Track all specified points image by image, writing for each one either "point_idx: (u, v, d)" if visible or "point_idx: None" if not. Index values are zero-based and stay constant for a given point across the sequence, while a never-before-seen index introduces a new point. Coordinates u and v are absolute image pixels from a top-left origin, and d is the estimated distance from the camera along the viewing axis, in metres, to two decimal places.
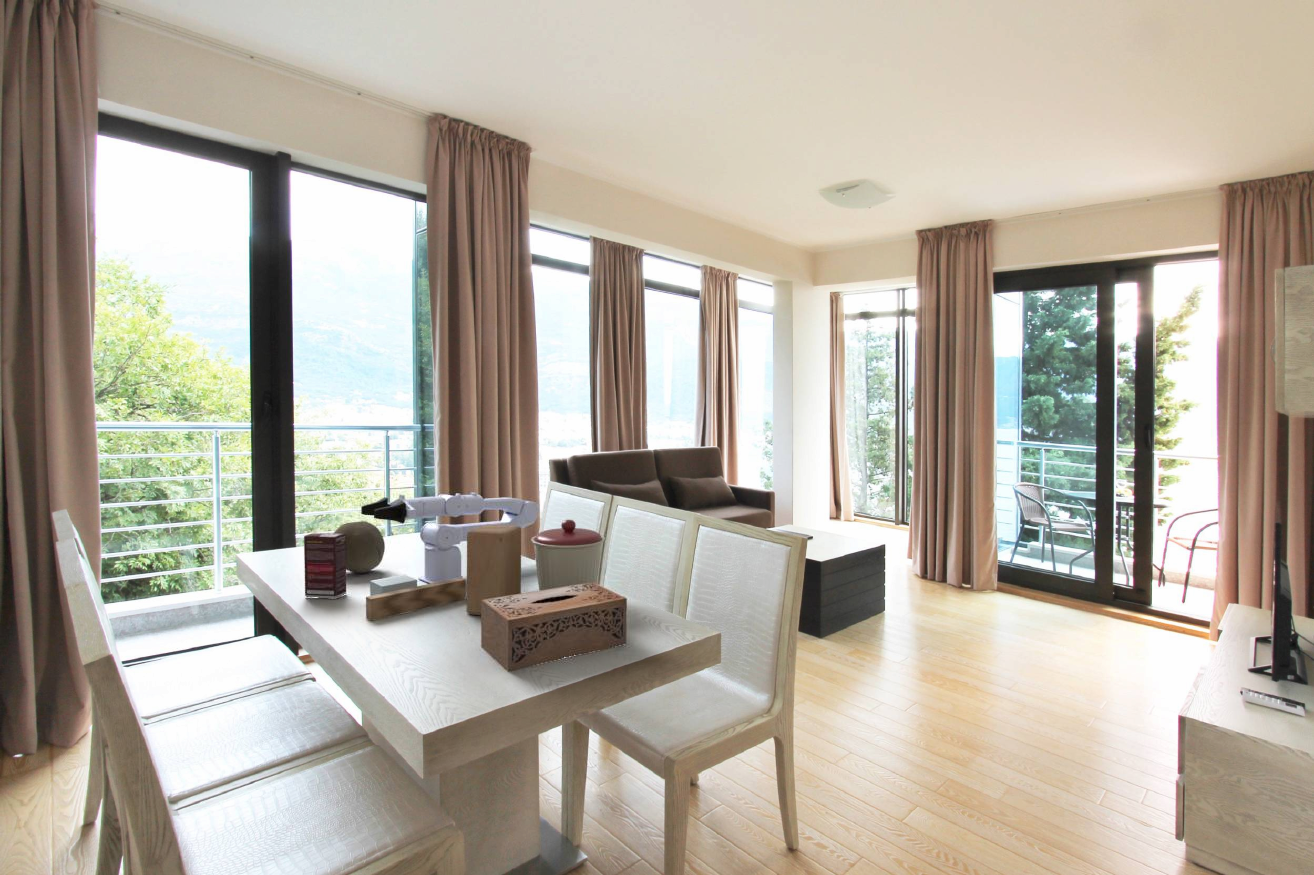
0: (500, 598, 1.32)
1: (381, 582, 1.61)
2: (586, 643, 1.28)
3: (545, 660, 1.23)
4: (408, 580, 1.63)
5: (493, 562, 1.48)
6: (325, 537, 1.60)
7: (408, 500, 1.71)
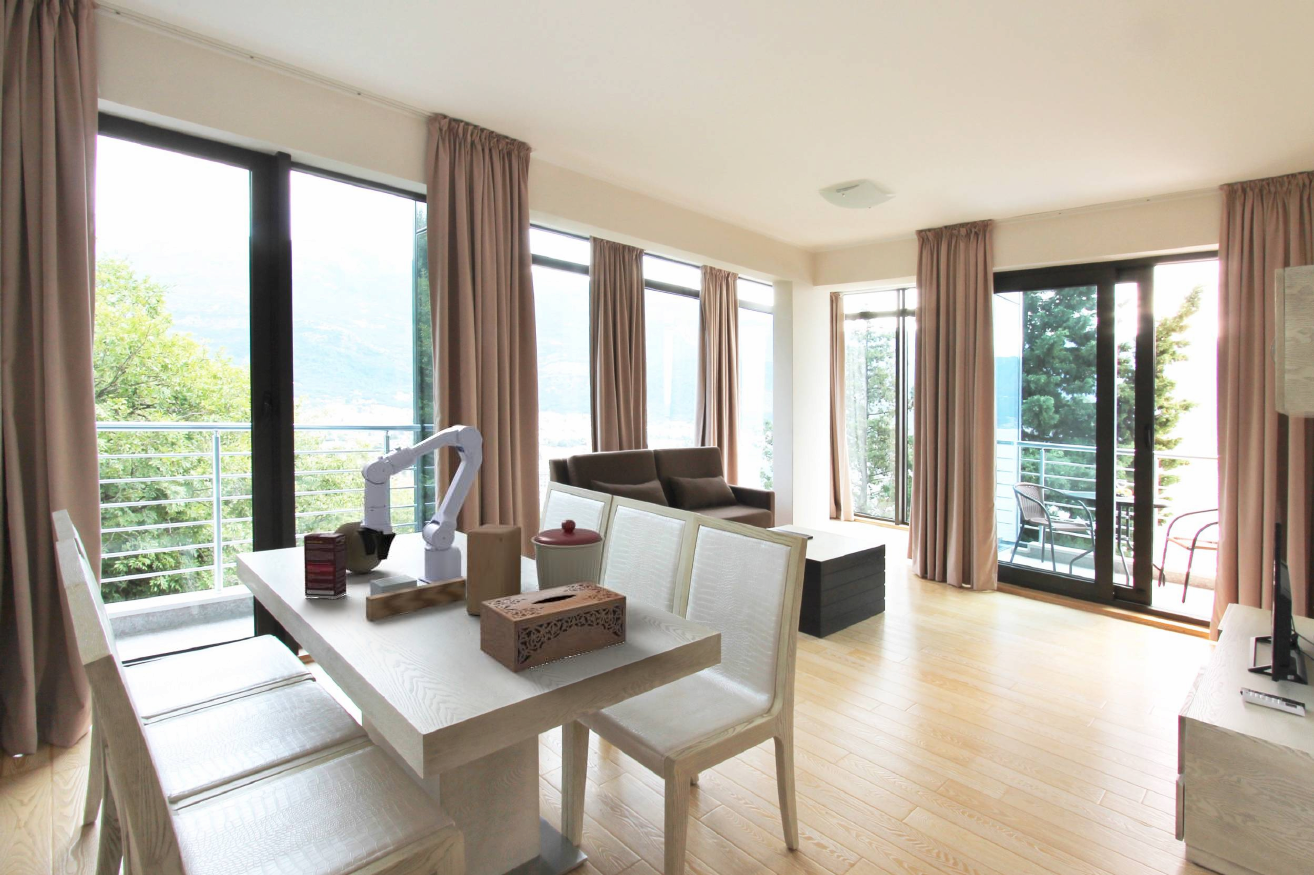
0: (499, 599, 1.31)
1: (381, 582, 1.61)
2: (588, 642, 1.29)
3: (549, 660, 1.23)
4: (408, 580, 1.63)
5: (493, 562, 1.48)
6: (325, 537, 1.60)
7: (368, 521, 1.67)
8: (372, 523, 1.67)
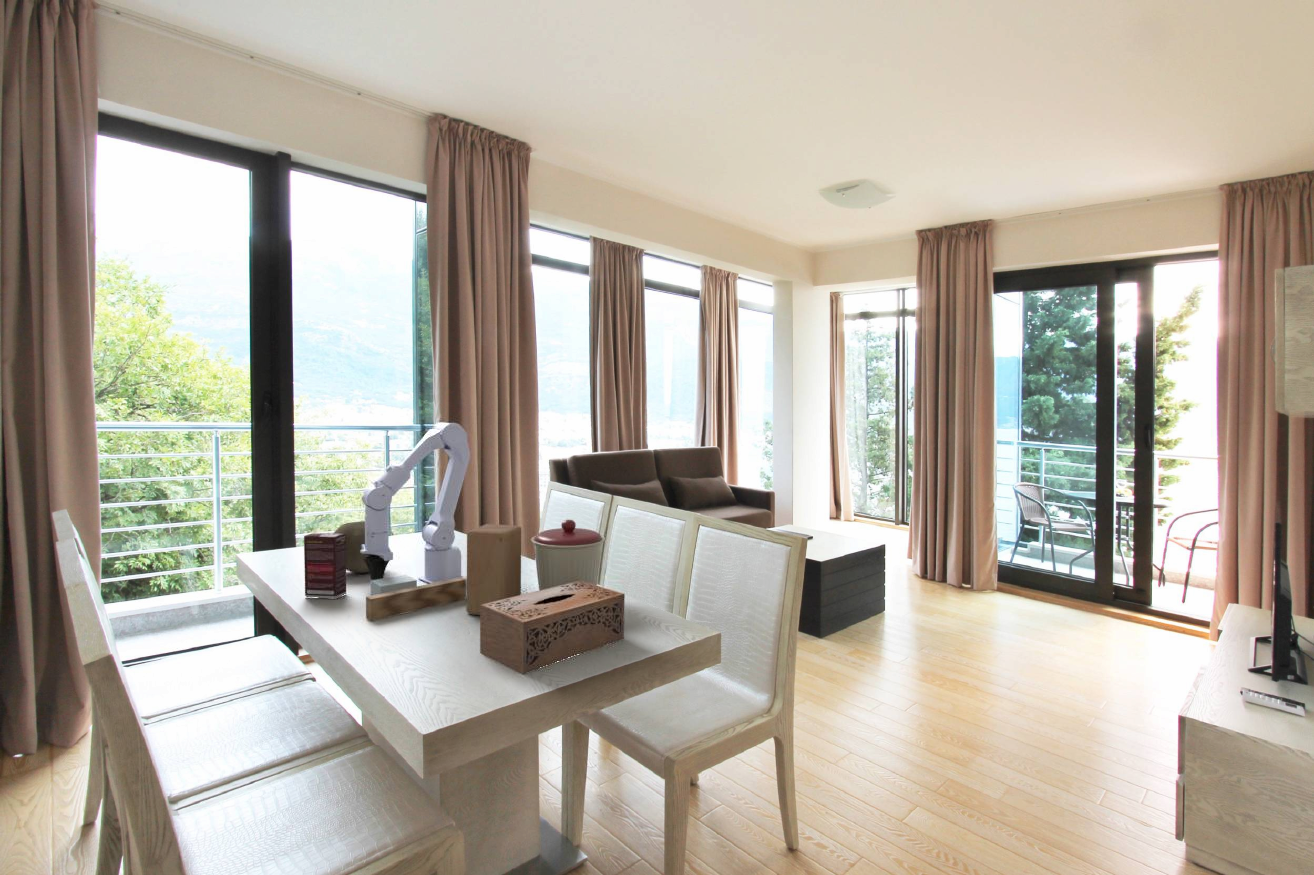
0: (499, 602, 1.29)
1: (381, 582, 1.61)
2: (590, 640, 1.30)
3: (555, 660, 1.23)
4: (408, 580, 1.63)
5: (493, 562, 1.48)
6: (325, 537, 1.60)
7: (369, 547, 1.67)
8: (373, 549, 1.67)
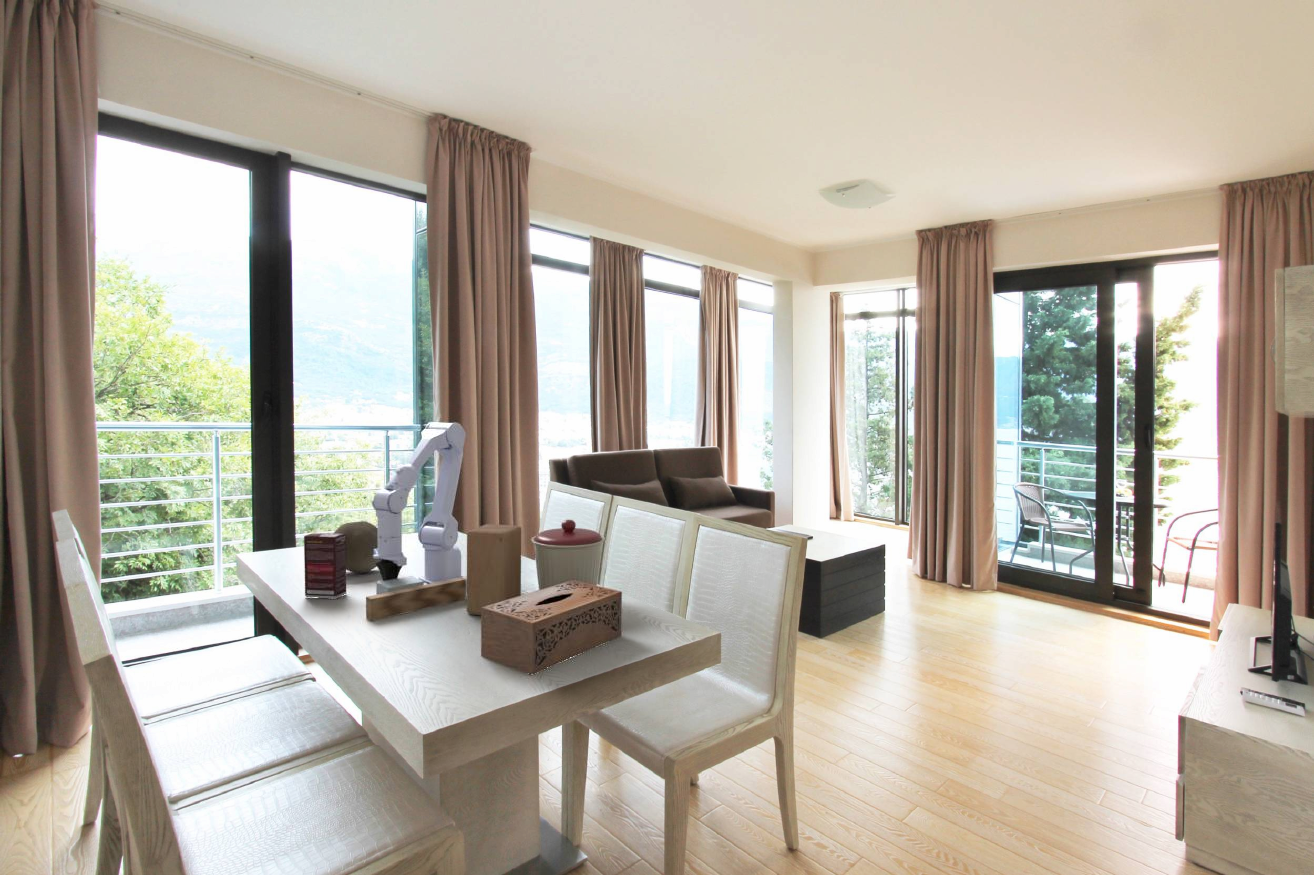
0: (499, 604, 1.28)
1: (387, 583, 1.59)
2: (592, 638, 1.31)
3: (561, 659, 1.24)
4: (414, 581, 1.62)
5: (493, 562, 1.48)
6: (325, 537, 1.60)
7: (382, 552, 1.62)
8: (386, 554, 1.62)
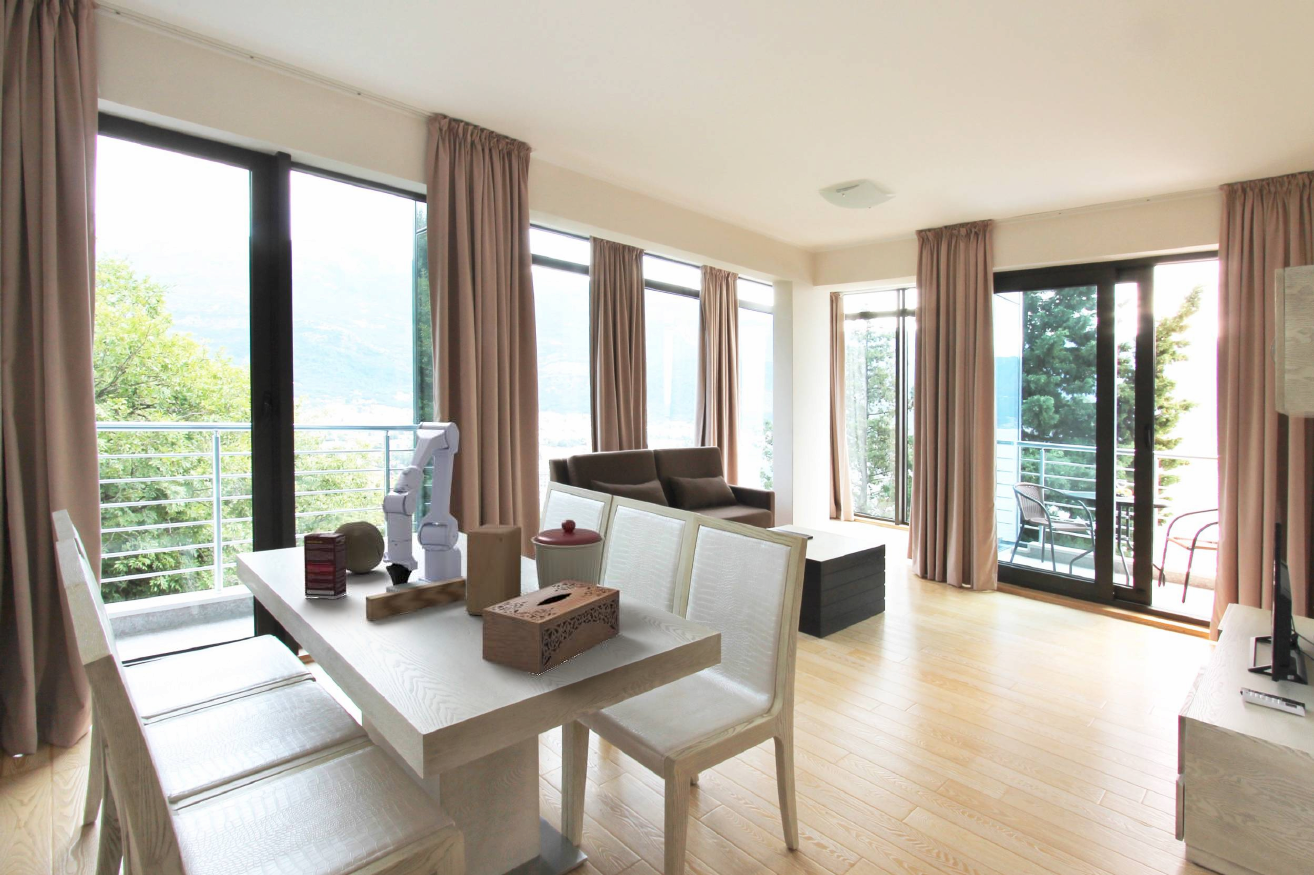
0: (500, 605, 1.27)
1: (398, 588, 1.56)
2: (592, 637, 1.32)
3: (565, 659, 1.24)
4: None
5: (493, 562, 1.48)
6: (325, 537, 1.60)
7: (392, 556, 1.58)
8: (396, 558, 1.58)
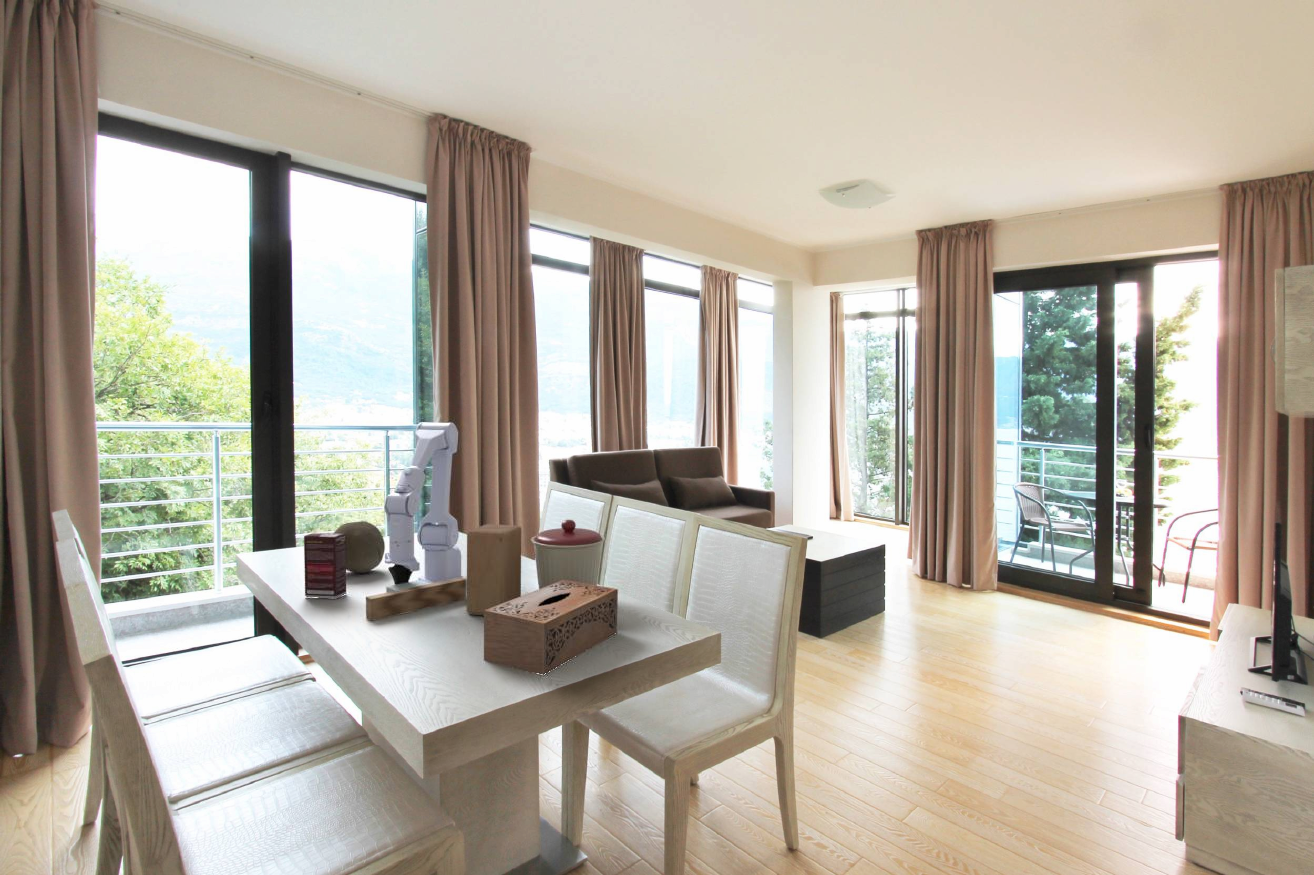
0: (501, 606, 1.26)
1: (398, 588, 1.56)
2: (593, 636, 1.32)
3: (568, 659, 1.24)
4: None
5: (493, 562, 1.48)
6: (325, 537, 1.60)
7: (394, 557, 1.57)
8: (398, 559, 1.57)
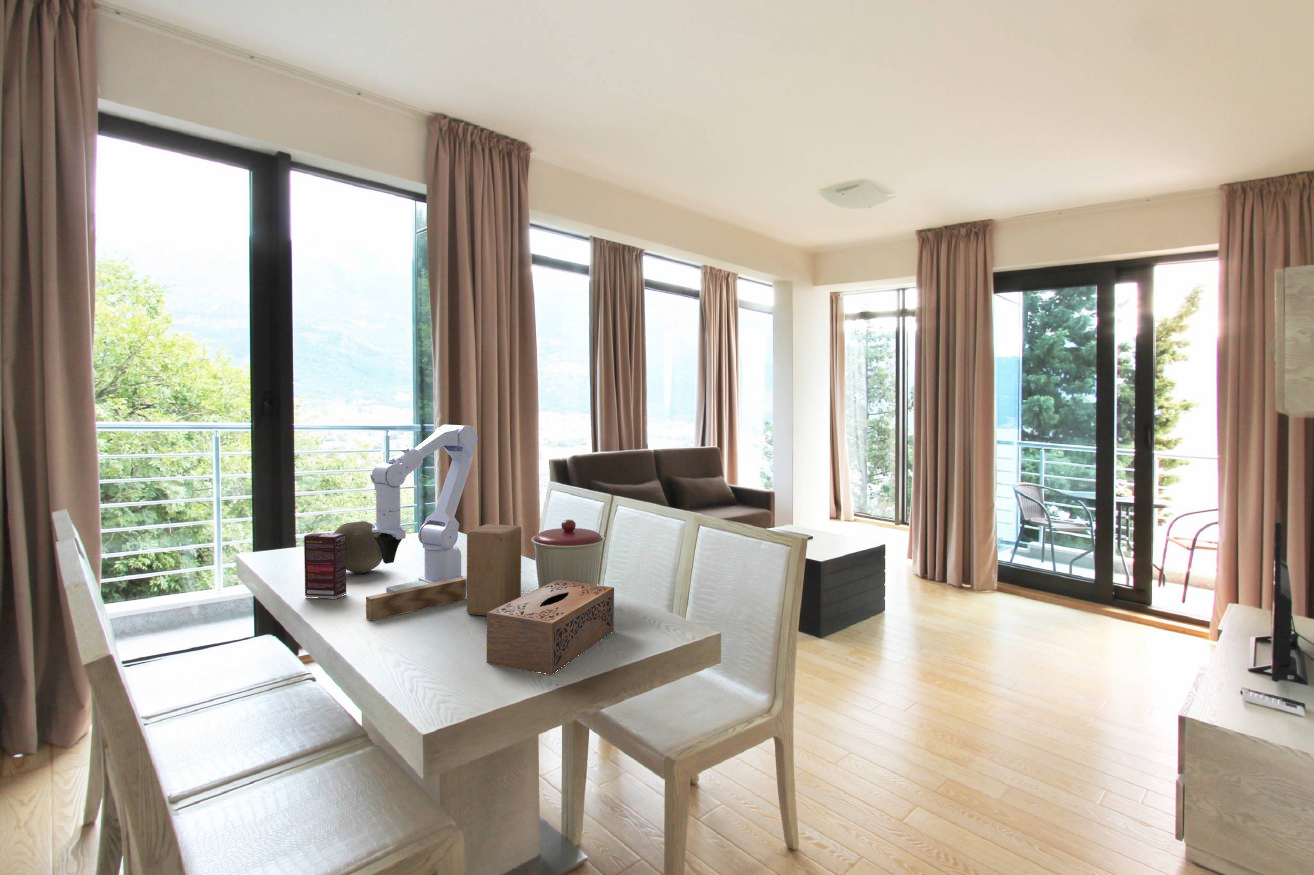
0: (502, 607, 1.26)
1: (398, 588, 1.56)
2: (593, 635, 1.33)
3: (572, 658, 1.25)
4: None
5: (493, 562, 1.48)
6: (325, 537, 1.60)
7: (381, 525, 1.62)
8: (384, 528, 1.62)
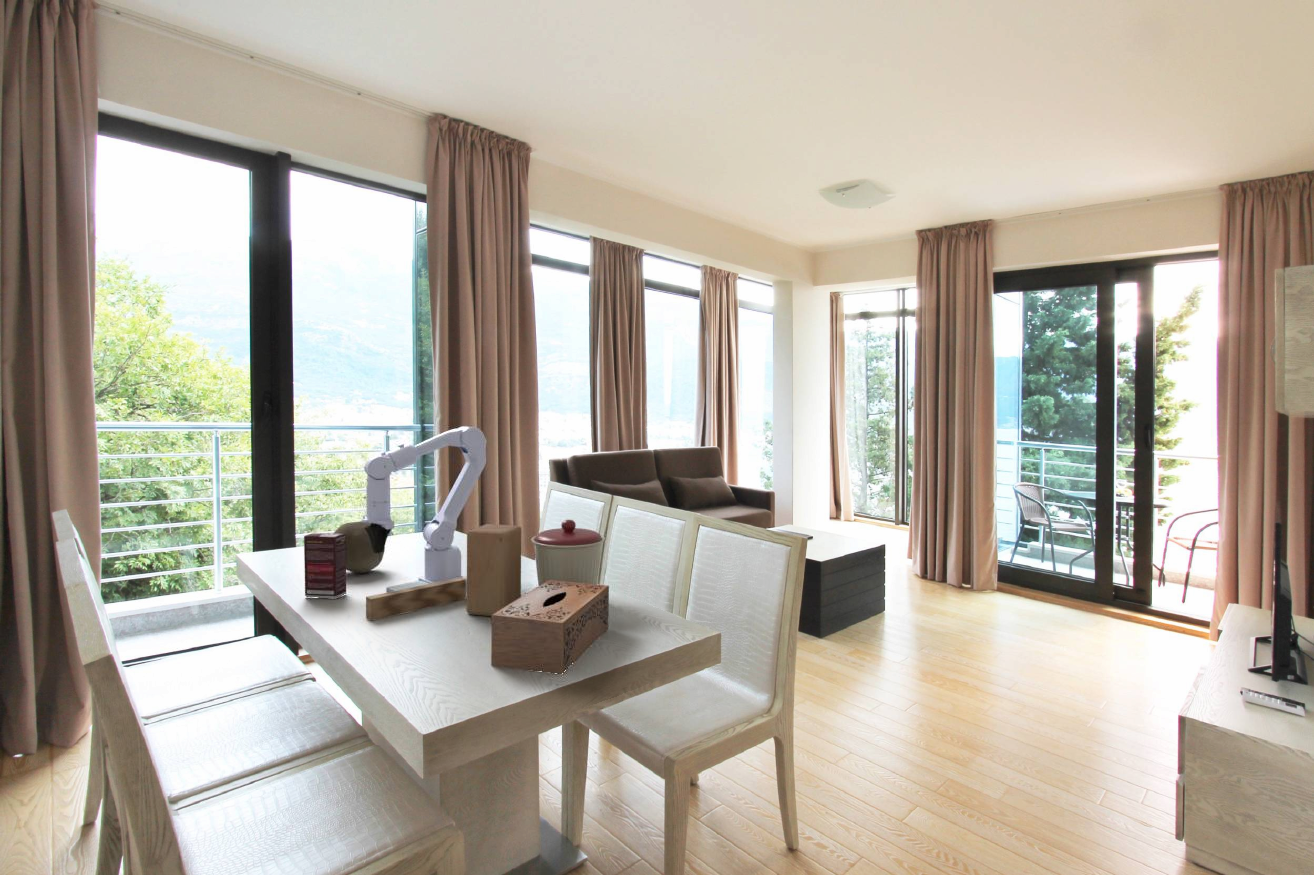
0: (506, 609, 1.24)
1: (398, 588, 1.56)
2: (593, 633, 1.34)
3: (577, 657, 1.25)
4: None
5: (493, 562, 1.48)
6: (325, 537, 1.60)
7: (371, 516, 1.68)
8: (374, 518, 1.68)
